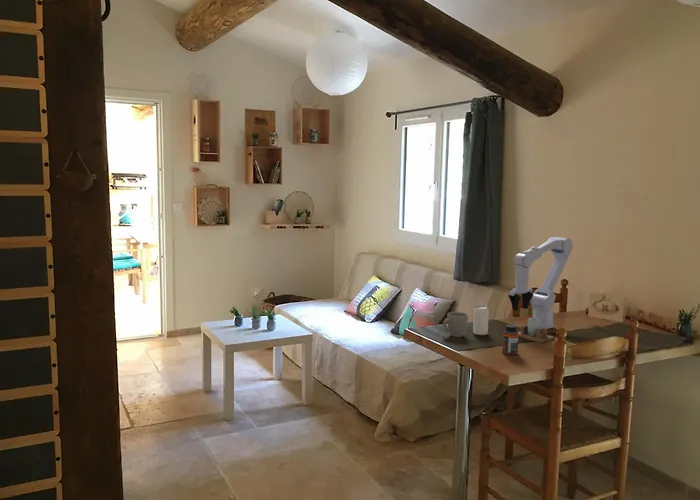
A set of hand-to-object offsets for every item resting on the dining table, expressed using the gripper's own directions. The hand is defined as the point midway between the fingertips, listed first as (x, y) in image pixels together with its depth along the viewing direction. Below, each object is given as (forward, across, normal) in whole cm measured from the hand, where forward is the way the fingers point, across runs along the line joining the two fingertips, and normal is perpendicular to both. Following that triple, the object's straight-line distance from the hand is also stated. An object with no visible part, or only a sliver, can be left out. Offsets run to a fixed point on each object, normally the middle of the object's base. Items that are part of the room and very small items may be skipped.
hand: (520, 309), depth 275 cm
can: (+10, +19, -7) cm, 23 cm away
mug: (+10, +32, -11) cm, 35 cm away
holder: (+10, +5, +11) cm, 16 cm away
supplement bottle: (+10, +34, +20) cm, 41 cm away
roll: (+9, +5, +11) cm, 15 cm away
